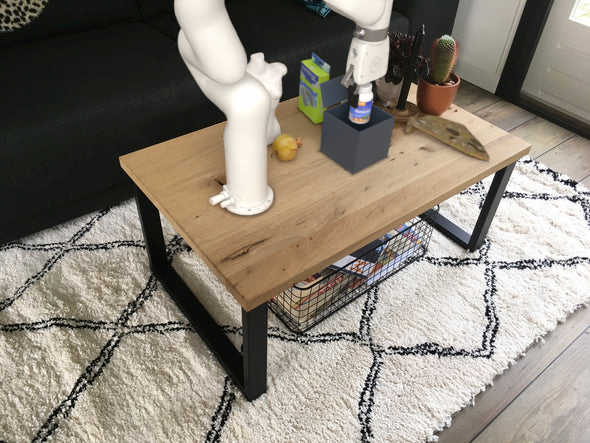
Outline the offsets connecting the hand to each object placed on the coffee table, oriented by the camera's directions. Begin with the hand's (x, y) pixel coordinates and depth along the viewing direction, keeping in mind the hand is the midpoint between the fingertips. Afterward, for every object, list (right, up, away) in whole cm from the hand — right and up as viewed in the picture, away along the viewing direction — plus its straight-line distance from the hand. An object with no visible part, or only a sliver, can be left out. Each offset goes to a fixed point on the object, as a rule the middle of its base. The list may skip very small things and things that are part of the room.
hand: (361, 101), depth 126 cm
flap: (-5, +4, +4) cm, 7 cm away
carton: (-1, -12, +11) cm, 16 cm away
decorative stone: (+28, -8, +20) cm, 35 cm away
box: (-12, +2, +25) cm, 28 cm away
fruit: (-19, -13, +9) cm, 25 cm away
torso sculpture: (-27, -8, +14) cm, 31 cm away
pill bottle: (0, -4, +3) cm, 5 cm away
